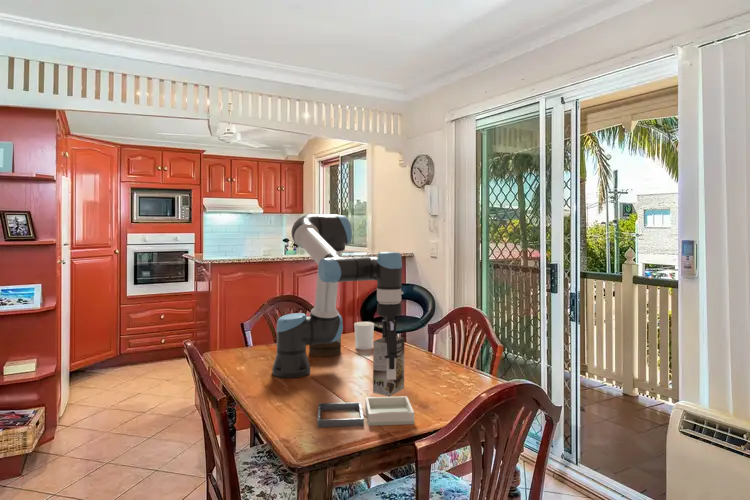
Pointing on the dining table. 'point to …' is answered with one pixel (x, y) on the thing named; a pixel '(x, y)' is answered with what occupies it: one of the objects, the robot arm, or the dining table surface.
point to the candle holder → (364, 335)
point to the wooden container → (326, 348)
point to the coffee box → (380, 368)
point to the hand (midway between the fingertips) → (389, 373)
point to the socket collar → (340, 421)
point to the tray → (389, 410)
